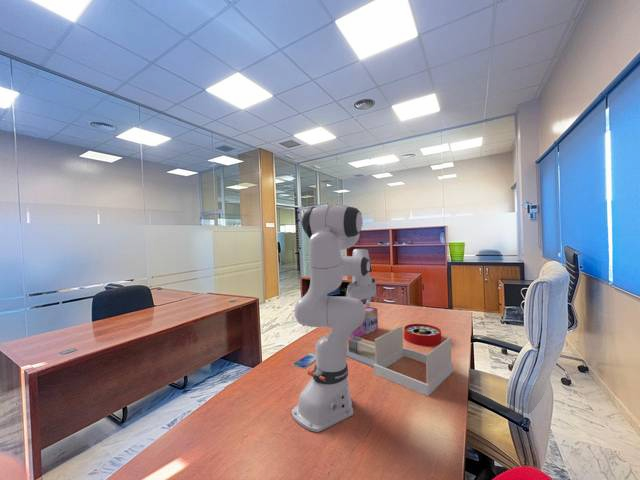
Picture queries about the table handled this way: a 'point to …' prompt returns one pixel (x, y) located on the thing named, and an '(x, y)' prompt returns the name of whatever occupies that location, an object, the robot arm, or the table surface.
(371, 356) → the block
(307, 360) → the smartphone
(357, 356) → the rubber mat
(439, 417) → the table surface
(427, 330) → the toy clock
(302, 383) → the table surface
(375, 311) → the gum box
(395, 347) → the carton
